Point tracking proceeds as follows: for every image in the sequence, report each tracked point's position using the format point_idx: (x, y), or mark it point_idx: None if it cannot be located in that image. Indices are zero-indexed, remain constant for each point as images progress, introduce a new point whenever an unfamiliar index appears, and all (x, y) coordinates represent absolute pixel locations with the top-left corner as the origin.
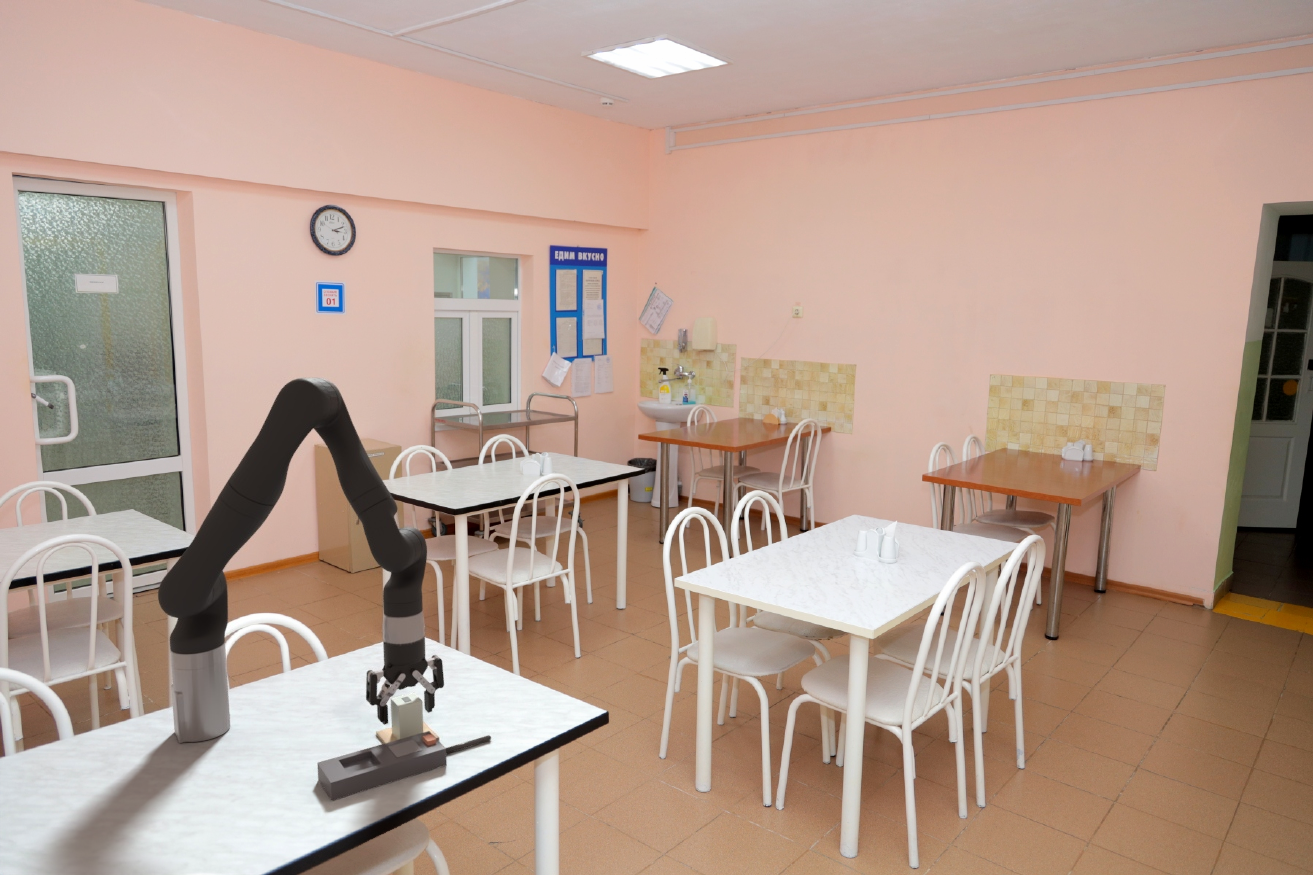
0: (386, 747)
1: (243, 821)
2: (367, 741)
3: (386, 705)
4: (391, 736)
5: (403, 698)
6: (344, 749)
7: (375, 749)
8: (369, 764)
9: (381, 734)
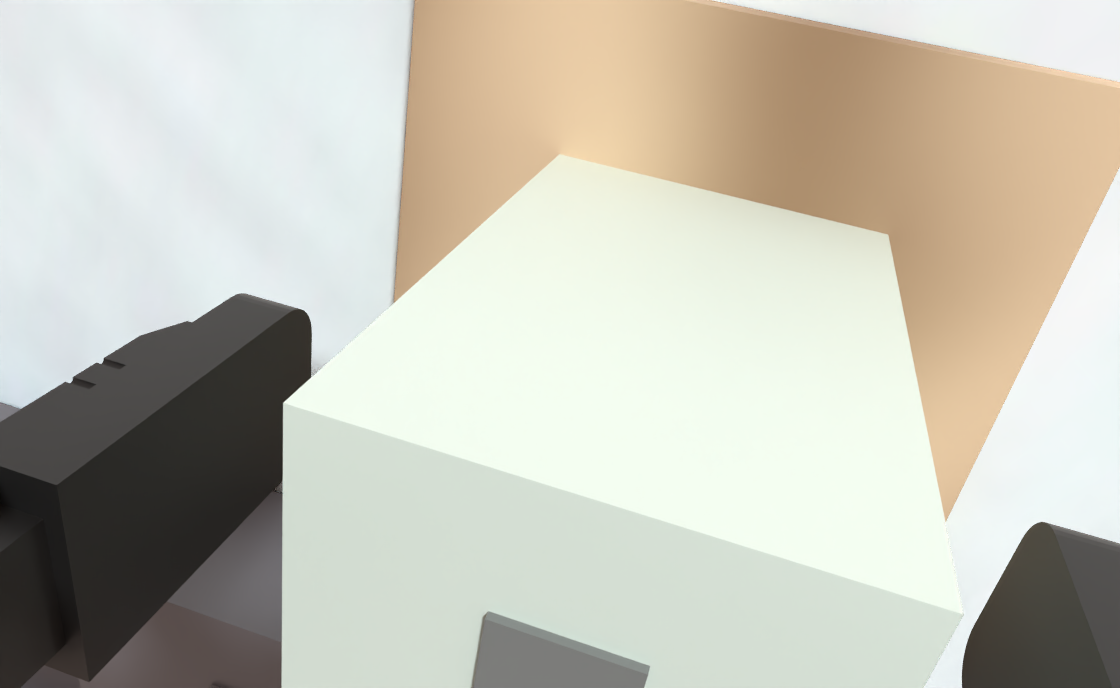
0: (201, 673)
1: None
2: (293, 37)
3: (71, 662)
4: None
5: (514, 660)
6: (47, 19)
7: None
8: None
9: (444, 80)
